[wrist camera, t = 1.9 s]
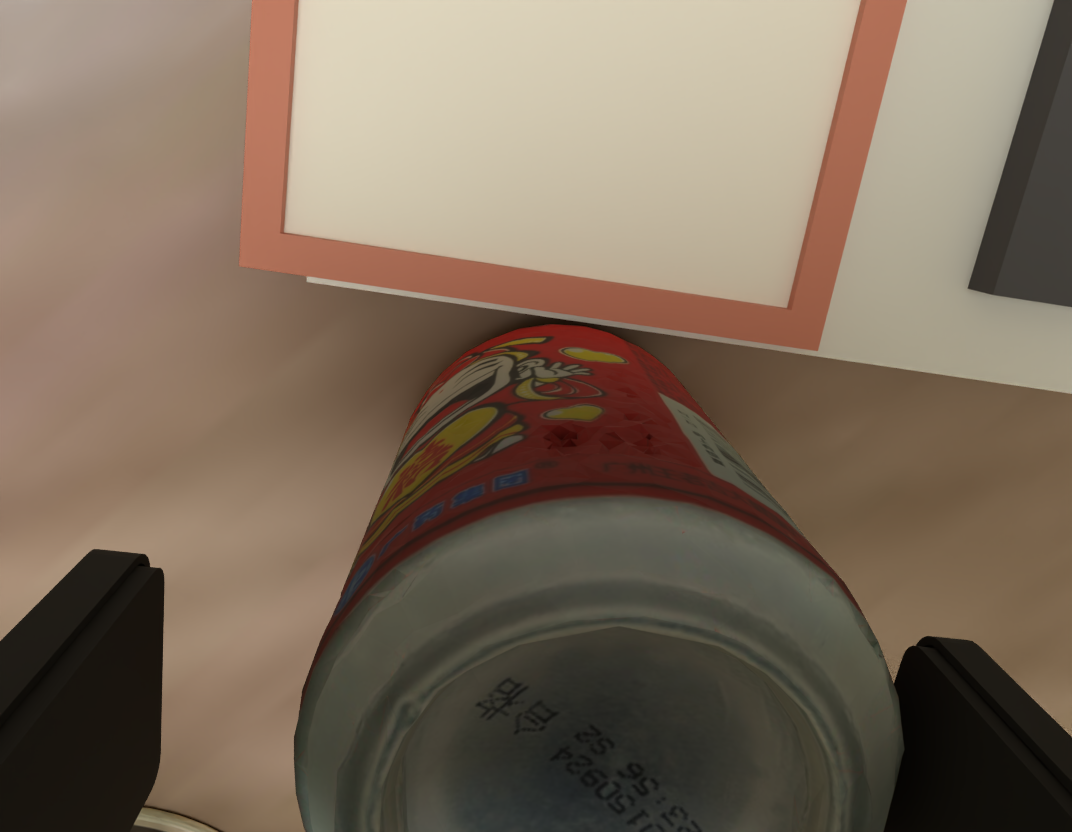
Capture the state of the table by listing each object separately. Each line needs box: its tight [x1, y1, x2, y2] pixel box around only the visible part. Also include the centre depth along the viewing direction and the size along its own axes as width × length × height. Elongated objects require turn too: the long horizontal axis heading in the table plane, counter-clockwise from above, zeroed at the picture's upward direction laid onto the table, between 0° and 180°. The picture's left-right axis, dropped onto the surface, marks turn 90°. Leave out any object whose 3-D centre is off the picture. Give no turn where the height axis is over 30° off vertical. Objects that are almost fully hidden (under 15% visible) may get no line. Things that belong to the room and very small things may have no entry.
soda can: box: [294, 324, 905, 832], centre depth 14 cm, size 7×7×12 cm
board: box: [307, 0, 1072, 394], centre depth 17 cm, size 24×13×1 cm, turn 81°
